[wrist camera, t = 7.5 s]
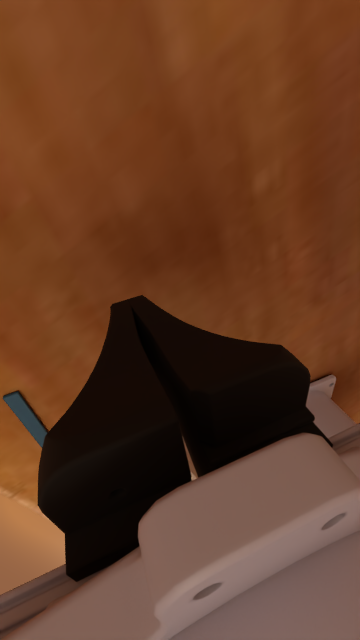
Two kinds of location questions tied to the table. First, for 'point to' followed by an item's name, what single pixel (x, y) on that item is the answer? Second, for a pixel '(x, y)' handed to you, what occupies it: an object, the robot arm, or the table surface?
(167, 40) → the table surface
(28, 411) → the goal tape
